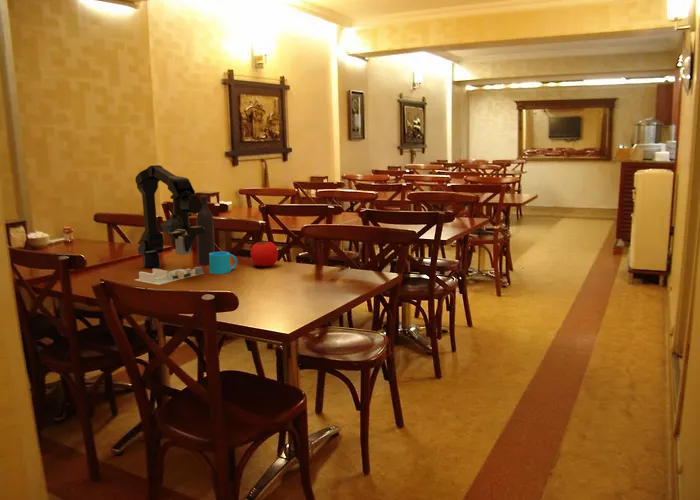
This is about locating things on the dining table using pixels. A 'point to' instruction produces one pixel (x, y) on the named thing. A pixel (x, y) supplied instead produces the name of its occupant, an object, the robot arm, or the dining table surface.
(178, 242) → the block
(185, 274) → the cable
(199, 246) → the wine bottle
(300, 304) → the dining table surface
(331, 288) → the dining table surface
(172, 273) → the board
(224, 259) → the mug
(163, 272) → the holder
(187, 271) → the clamp and clips
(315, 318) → the dining table surface
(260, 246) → the tomato
